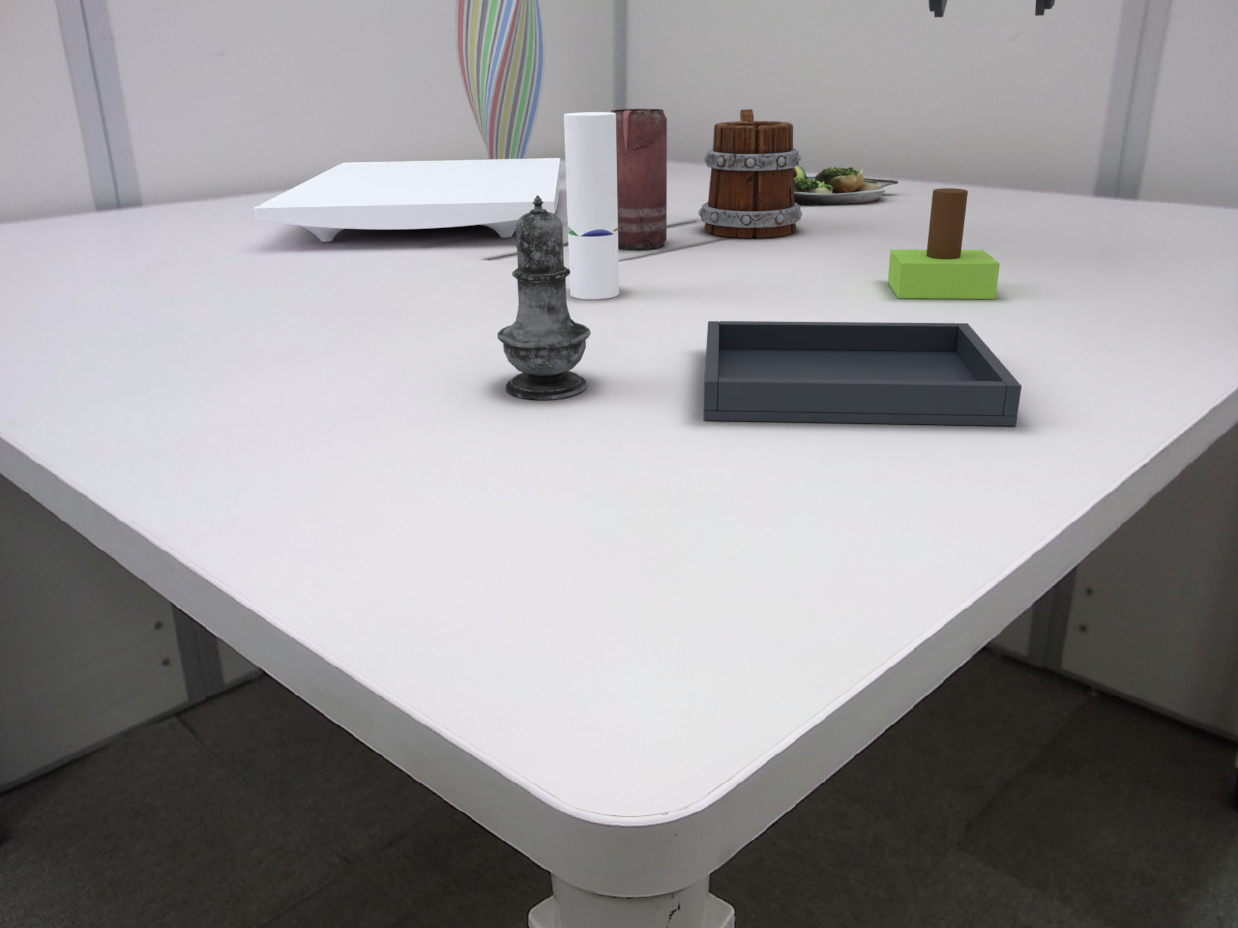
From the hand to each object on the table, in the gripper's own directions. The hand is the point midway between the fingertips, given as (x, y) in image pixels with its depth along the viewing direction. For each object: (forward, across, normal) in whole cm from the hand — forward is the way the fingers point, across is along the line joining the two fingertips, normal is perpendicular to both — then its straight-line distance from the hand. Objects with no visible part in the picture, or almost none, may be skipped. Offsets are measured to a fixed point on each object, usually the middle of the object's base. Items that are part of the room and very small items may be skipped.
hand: (988, 9), depth 89 cm
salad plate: (-13, -25, +45) cm, 53 cm away
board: (+11, -66, +22) cm, 71 cm away
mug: (+7, -26, +25) cm, 37 cm away
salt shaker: (+50, -18, -18) cm, 56 cm away
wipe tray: (+45, -1, -13) cm, 47 cm away
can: (+17, -33, +15) cm, 40 cm away
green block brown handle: (+24, 0, +8) cm, 25 cm away
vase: (-15, -78, +48) cm, 92 cm away
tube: (+33, -27, -1) cm, 43 cm away
